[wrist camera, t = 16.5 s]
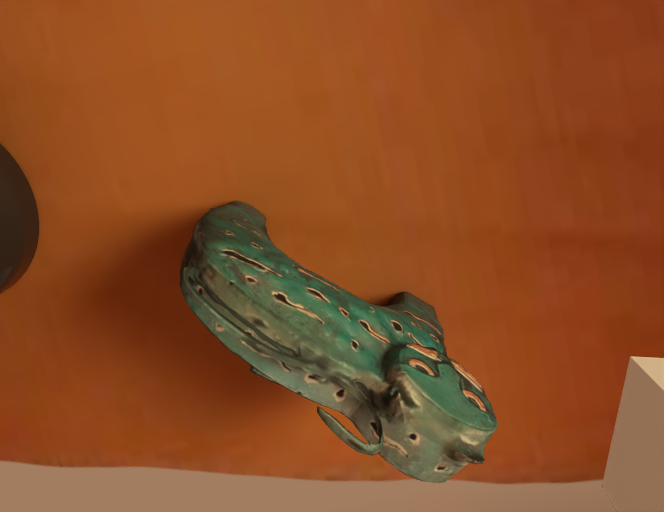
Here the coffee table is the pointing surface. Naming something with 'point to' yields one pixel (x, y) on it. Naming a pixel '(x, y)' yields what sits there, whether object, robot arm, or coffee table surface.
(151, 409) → the coffee table surface
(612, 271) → the coffee table surface
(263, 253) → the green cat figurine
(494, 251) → the coffee table surface
